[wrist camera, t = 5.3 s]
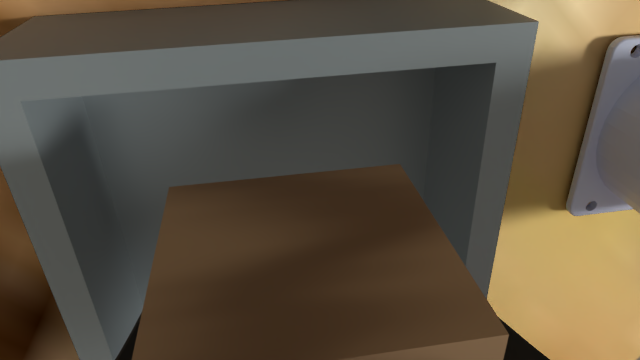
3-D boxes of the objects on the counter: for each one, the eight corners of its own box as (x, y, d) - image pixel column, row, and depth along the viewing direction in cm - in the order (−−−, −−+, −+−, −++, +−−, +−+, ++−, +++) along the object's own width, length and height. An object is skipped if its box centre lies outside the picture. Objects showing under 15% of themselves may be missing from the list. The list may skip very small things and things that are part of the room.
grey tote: (461, -11, 17) (539, 21, 13) (422, 348, 26) (460, 437, 22) (34, 16, 15) (-42, 63, 11) (151, 389, 24) (134, 494, 20)
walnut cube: (400, 163, 11) (509, 334, 7) (390, 326, 13) (465, 526, 9) (169, 186, 10) (124, 391, 6) (203, 352, 13) (189, 580, 9)
